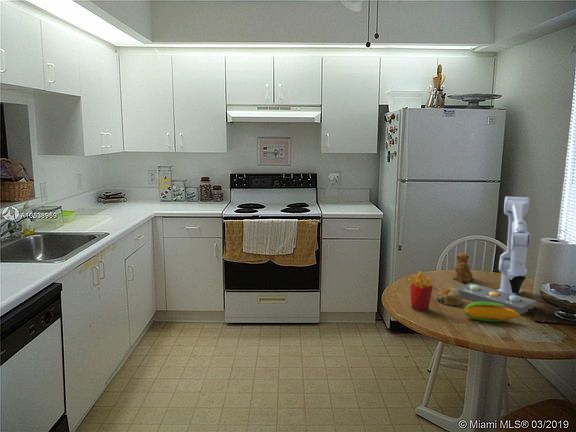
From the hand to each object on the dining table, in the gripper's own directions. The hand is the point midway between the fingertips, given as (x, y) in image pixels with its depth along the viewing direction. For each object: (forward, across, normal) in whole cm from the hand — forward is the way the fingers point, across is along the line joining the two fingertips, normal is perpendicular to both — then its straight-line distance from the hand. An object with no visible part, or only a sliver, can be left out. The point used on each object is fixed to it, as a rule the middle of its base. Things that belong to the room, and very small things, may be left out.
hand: (515, 293), depth 197 cm
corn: (+6, +22, +1) cm, 23 cm away
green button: (+5, -1, -18) cm, 19 cm away
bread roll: (+6, +16, -21) cm, 27 cm away
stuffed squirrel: (+6, -18, -34) cm, 39 cm away
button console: (+6, 0, -9) cm, 11 cm away
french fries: (+6, +33, -25) cm, 42 cm away
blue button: (+5, 0, 0) cm, 5 cm away
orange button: (+5, 0, -9) cm, 11 cm away
